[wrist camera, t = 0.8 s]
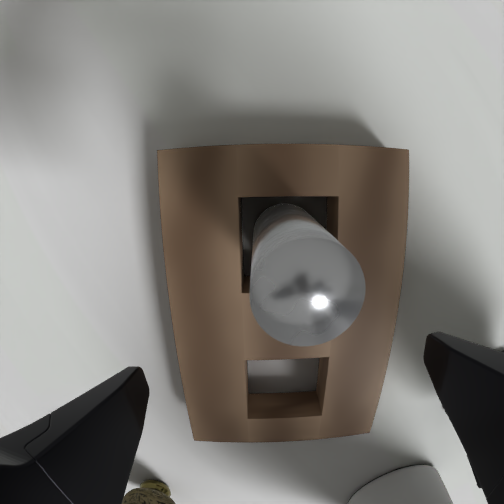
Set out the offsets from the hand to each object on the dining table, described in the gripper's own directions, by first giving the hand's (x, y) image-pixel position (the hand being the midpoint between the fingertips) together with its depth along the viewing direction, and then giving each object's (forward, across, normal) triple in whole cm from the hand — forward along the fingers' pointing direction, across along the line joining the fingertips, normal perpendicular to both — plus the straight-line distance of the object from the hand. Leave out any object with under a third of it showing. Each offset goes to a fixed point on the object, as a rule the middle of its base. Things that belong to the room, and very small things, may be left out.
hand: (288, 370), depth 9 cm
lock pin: (+12, -1, -1) cm, 12 cm away
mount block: (+12, 0, +4) cm, 13 cm away
